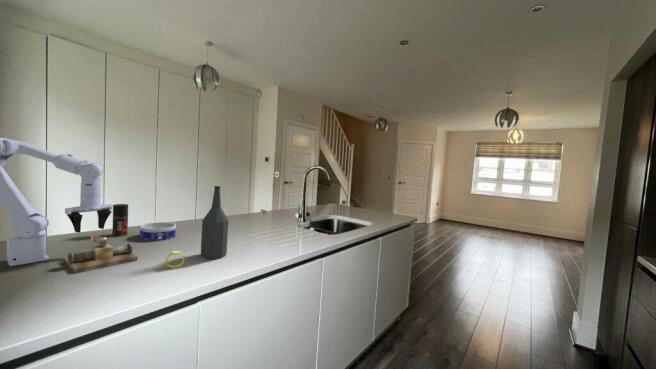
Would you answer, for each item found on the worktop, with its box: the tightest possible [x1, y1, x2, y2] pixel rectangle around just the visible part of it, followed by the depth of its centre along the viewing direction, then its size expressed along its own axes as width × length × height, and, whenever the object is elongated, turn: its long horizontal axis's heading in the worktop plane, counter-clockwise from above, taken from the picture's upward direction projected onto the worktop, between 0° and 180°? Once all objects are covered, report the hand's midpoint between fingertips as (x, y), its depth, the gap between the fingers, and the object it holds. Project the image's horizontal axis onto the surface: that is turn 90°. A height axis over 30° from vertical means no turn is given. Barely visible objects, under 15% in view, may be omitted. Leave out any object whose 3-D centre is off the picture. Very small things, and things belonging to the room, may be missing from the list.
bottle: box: [200, 185, 229, 260], centre depth 116 cm, size 10×10×30 cm
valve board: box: [63, 243, 138, 274], centre depth 102 cm, size 18×14×6 cm
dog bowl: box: [139, 221, 177, 242], centre depth 137 cm, size 15×15×6 cm
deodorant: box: [112, 203, 129, 238], centre depth 134 cm, size 6×6×15 cm
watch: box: [165, 250, 185, 269], centre depth 102 cm, size 6×3×6 cm, turn 122°
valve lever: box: [90, 233, 108, 247], centre depth 104 cm, size 11×3×3 cm, turn 54°
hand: (89, 230), depth 105 cm, fingers open, 7 cm apart
